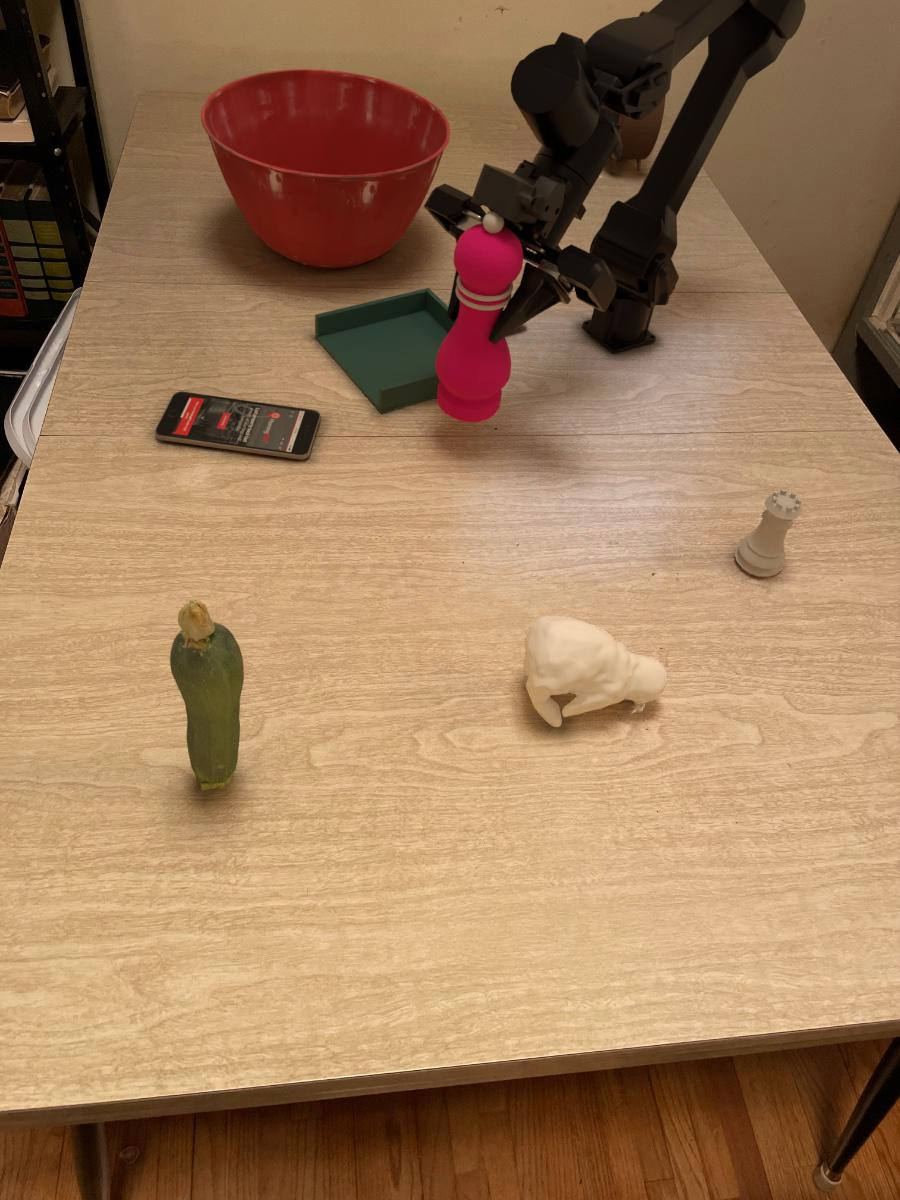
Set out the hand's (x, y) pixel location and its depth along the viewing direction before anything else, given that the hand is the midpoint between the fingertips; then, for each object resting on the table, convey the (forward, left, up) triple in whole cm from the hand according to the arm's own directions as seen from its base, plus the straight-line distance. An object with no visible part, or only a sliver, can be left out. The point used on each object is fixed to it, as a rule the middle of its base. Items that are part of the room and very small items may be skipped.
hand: (470, 330), depth 87 cm
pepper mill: (-2, -1, -9) cm, 9 cm away
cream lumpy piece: (+7, +32, -13) cm, 35 cm away
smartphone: (+18, -11, -13) cm, 25 cm away
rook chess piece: (-17, +27, -13) cm, 34 cm away
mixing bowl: (-7, -41, -13) cm, 44 cm away
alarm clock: (-59, -47, -13) cm, 77 cm away
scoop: (-7, -15, -13) cm, 22 cm away
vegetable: (+35, +25, -13) cm, 45 cm away
